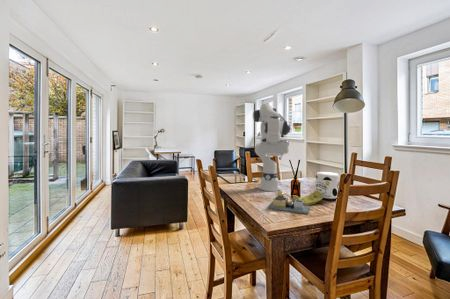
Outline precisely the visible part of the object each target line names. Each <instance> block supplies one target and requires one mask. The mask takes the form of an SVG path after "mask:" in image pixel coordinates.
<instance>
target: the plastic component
mask: <svg viewBox="0 0 450 299" xmlns="http://www.w3.org/2000/svg"><path fill="white" fill-rule="evenodd" d="M322 198H323V195H322V194H321V193H320V192H319V191H315V192H311V193H310V194H309V195H305V196H301V197H299V196H298V195H294V196H293V197H292V198H291V201H292V203H294V201H295V200H303V201H304V205H306V206H311V205H315V204H317V203H319V202H321V201H322V200H323V199H322Z"/></svg>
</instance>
